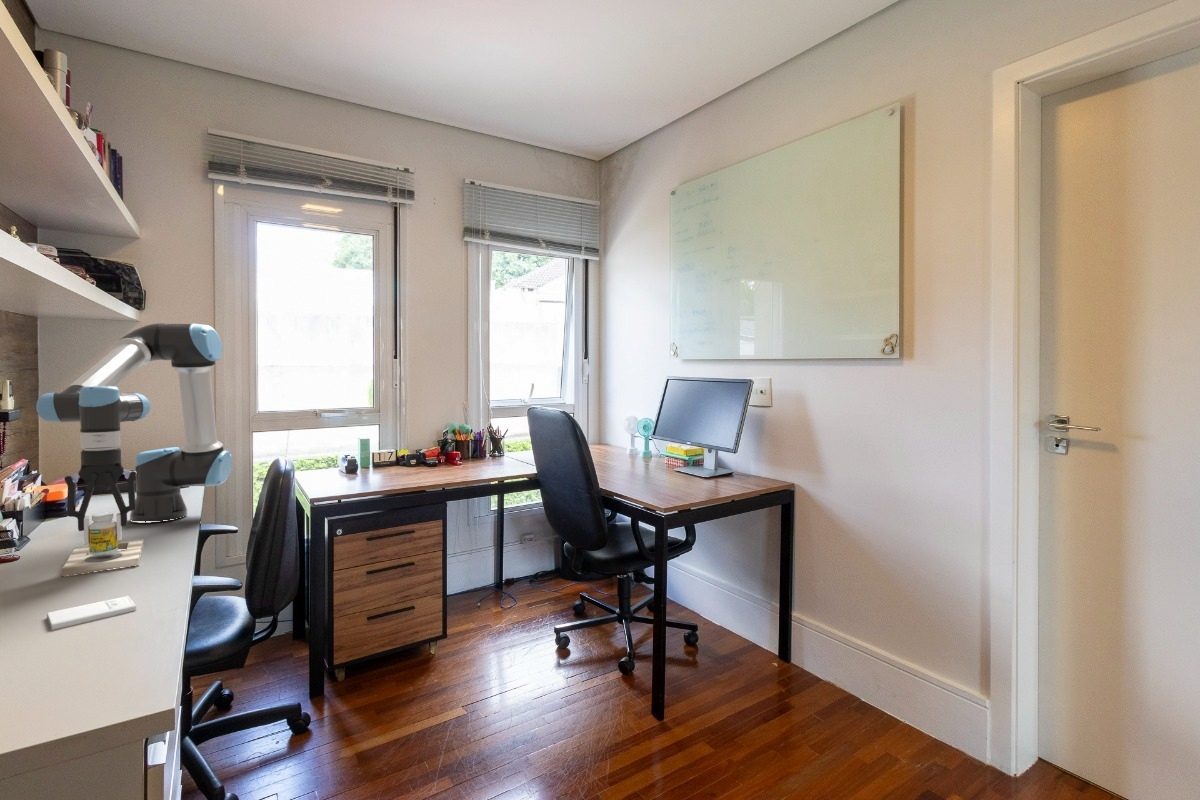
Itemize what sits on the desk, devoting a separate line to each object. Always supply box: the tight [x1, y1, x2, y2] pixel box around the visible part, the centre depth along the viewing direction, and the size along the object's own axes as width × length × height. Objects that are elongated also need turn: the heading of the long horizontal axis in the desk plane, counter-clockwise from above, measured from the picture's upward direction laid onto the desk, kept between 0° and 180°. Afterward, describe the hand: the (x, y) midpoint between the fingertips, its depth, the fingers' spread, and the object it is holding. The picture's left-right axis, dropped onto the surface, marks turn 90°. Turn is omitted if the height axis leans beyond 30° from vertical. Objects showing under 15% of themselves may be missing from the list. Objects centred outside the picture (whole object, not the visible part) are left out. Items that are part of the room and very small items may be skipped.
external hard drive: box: [46, 595, 137, 631], centre depth 114 cm, size 2×8×12 cm
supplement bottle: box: [88, 512, 119, 555], centre depth 142 cm, size 5×5×10 cm
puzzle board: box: [61, 539, 144, 577], centre depth 147 cm, size 20×14×2 cm
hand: (103, 541), depth 143 cm, fingers closed on supplement bottle, 5 cm apart
